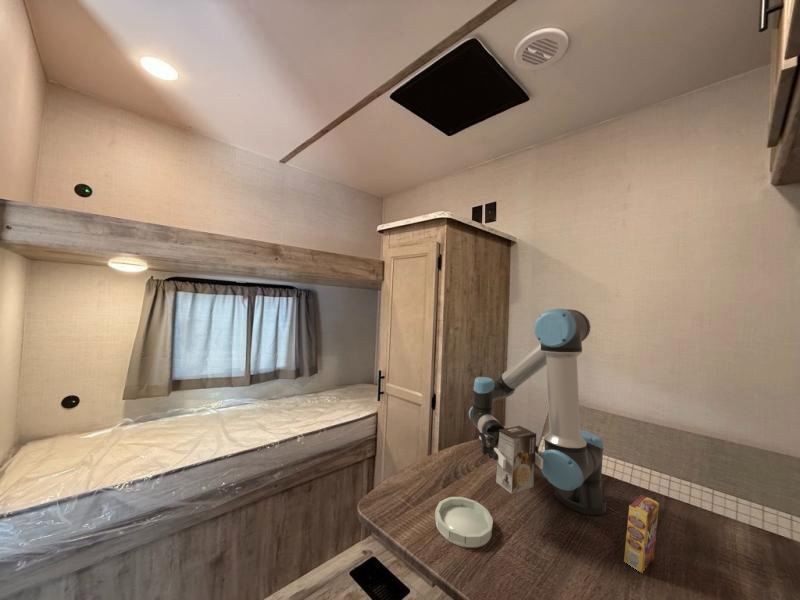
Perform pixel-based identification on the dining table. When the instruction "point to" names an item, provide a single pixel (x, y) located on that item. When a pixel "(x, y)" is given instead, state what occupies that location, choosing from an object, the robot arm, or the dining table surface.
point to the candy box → (641, 533)
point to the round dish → (464, 522)
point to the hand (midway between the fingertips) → (523, 464)
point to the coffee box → (516, 459)
